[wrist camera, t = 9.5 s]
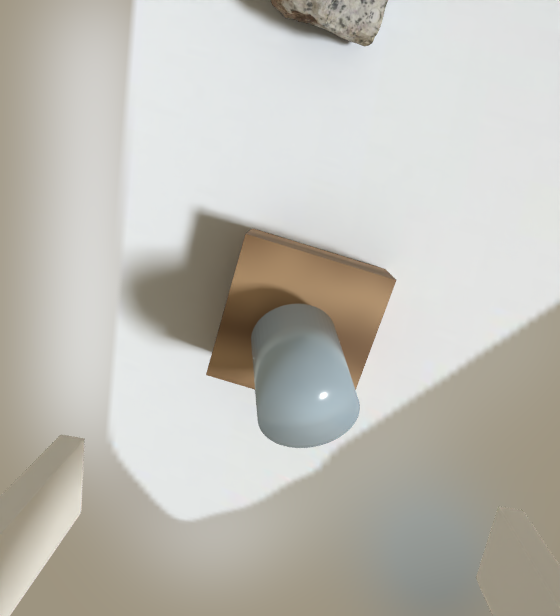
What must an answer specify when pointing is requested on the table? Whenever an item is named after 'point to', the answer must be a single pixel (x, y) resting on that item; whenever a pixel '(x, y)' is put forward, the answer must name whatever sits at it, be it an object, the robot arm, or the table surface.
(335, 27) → the rock
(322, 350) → the grey rounded cylinder
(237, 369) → the walnut block
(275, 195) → the table surface
